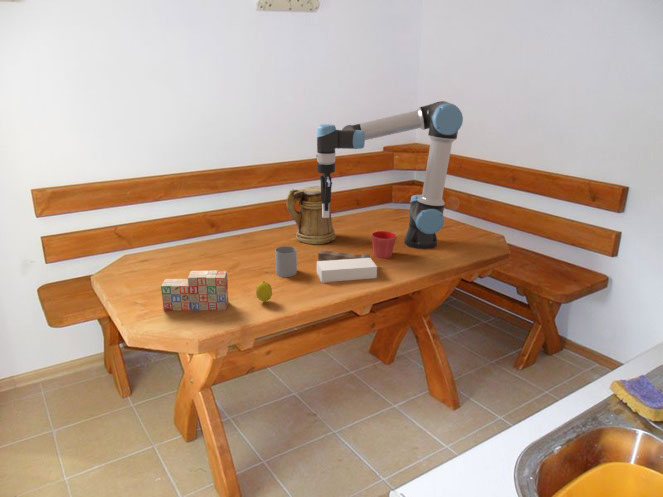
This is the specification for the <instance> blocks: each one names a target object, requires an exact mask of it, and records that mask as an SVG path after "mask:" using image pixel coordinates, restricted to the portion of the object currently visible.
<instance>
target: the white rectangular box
mask: <svg viewBox="0 0 663 497" xmlns="http://www.w3.org/2000/svg"><path fill="white" fill-rule="evenodd" d="M316 274H317V276H318V278H319V280H320V283H322V284H323V283H331V282H340V281H341V282H342V281H353V280H368V279H377V278H378V266H377V265H376V263H375V262H374V261H373V260H372V258H371V257H370V258H358V259H343V260H329V261H318V260H316Z"/></svg>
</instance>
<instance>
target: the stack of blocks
mask: <svg viewBox="0 0 663 497" xmlns="http://www.w3.org/2000/svg"><path fill="white" fill-rule="evenodd" d="M228 285H229V284H228V271H227V270H215V269H214V270H190V272H189V274H188V276H187V278H165V279H164V280H163V282H162V284H161V286H160V291H161V297H162V298H161V299H162V307H163V308H162V309H163V311H227V310H228V305H229V289H228V288H229V286H228Z"/></svg>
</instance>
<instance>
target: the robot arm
mask: <svg viewBox="0 0 663 497" xmlns="http://www.w3.org/2000/svg"><path fill="white" fill-rule="evenodd" d="M463 121H464V117H463V113H462V111H461V110H460V108H459V107H458V106H457V105H456V104H454V103H452V102H451V103H450V102H448V101H444V100H443V101H442V100H441V101H435V102H433V103H430V104H427V105H423V106H419V107H418V108H417V110H413V111H412V110H411V111H408V112H404V113H403V112H402V113H400V114H395V115H392V116H387V117H382V118H378V119H374V120H369V121H366V122H362V123H356V124H348V125H347V124H346V125H345V126H343V127H342V129H337V128H336V125H334V124H329V123H327V124H325V123H324V124H320V125H318V126H317V130H316V152H317V153H316V155H315V158H317V159H316V160H317V164H316V172H318V173H320V174H321V176H319V179H320V186H321V199H322V217H323V218H329V203H331V204H332V202H331V200H332V199H331V198H332V187H333V182H332V176H331V174H333V173H335V172H336V163H335V162H336V149H338V150H339V149H349V150H352V149H354V150H361V149H364V148H365V141H368V140H373V139H378V138H382V137H386V136H391V135H395V134H399V133H400V134H401V133H403V132H408V131H413V130H418V129H421V130H428V133H427V134H428V136H427V137H428V138H430V145H429V151H428V155H427V156H428V158H427V163H426V169H425V173H424V174H425V176H424V180H423V186H422V193H421V194H414V195H411V197H410V201H409V203H410V204H409V221H408V225H409V226H408V228H407V231H406V234H405V236H404V239H403V240H404V241H403V242H404V244H405V246H407V247H409V248H412V249H413V248H414V249H419V250H420V249H421V250H426V249H433V248H436V247H437V245H438V237H437V234H436V233H438V232H439V231H441V229H442V228H444V224H445V216H444V210H445V205H446V203H445V201H444V200H443V197H444V196H443V195H444V189H445V185H446V179H447V173H448V167H449V161H450V157H451V150H452V145H453V143H454V142H455V141H456V140H457V138H458V134H459V130H460V129H461V127H462V126H463Z"/></svg>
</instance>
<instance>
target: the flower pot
mask: <svg viewBox="0 0 663 497" xmlns="http://www.w3.org/2000/svg"><path fill="white" fill-rule="evenodd" d="M396 240H397V235H396V233H394V232H392V231H387V230H377V231H373V232H372V233H371V243H372V244H371V245H372V251H373V256H374V257H375V258H378V259H389V258H391V257H392V255H393V253H394V252H393V251H394V248H395V244H396Z"/></svg>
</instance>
